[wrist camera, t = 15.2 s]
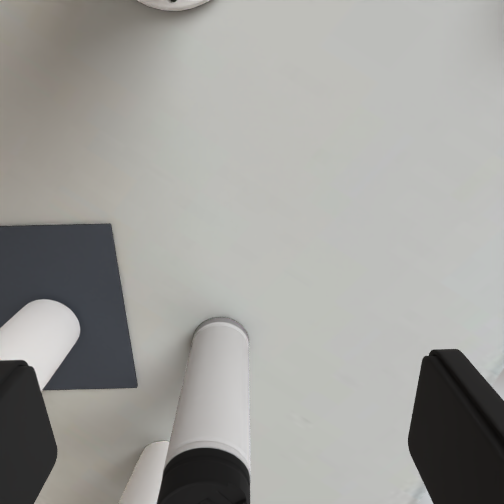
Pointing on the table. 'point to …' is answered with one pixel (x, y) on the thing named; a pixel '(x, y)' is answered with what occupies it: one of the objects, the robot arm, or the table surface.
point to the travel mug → (212, 421)
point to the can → (40, 337)
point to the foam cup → (146, 475)
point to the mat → (72, 297)
